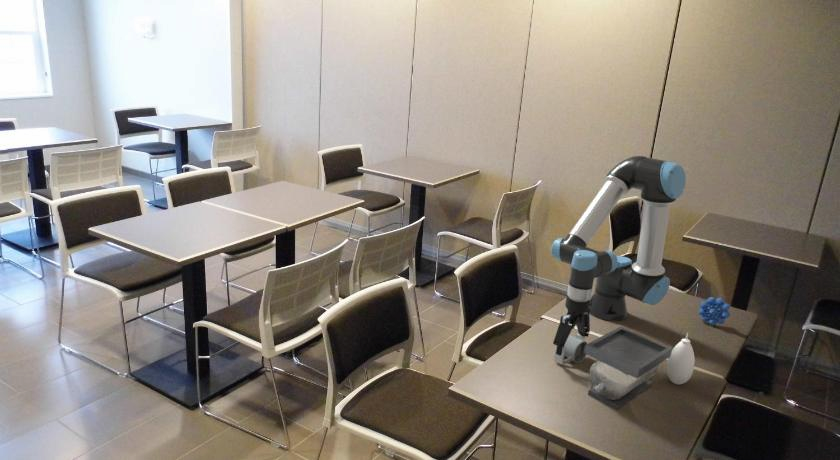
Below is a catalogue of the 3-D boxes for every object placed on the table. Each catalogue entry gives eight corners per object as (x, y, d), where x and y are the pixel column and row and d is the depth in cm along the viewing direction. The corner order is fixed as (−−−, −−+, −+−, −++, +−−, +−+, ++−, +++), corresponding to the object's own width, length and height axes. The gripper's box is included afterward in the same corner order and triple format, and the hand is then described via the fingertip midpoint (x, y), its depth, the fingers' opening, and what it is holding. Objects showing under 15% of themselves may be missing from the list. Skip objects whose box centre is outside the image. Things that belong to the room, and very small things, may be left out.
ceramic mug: (567, 349, 210) (570, 329, 207) (587, 359, 204) (590, 339, 201) (547, 358, 203) (550, 338, 200) (567, 369, 197) (570, 348, 195)
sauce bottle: (663, 385, 191) (674, 335, 185) (663, 373, 198) (674, 324, 192) (690, 392, 188) (702, 340, 183) (689, 379, 195) (700, 330, 190)
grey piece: (613, 367, 200) (620, 326, 195) (663, 391, 188) (672, 348, 183) (577, 389, 186) (584, 345, 181) (628, 416, 174) (638, 370, 169)
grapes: (730, 327, 235) (737, 299, 231) (723, 332, 230) (730, 303, 226) (700, 316, 243) (707, 289, 239) (693, 321, 238) (699, 293, 234)
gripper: (588, 285, 206) (578, 343, 213) (547, 301, 191) (538, 363, 198) (607, 293, 201) (596, 352, 208) (567, 310, 186) (557, 373, 193)
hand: (568, 357), depth 203 cm, fingers closed on ceramic mug, 11 cm apart
